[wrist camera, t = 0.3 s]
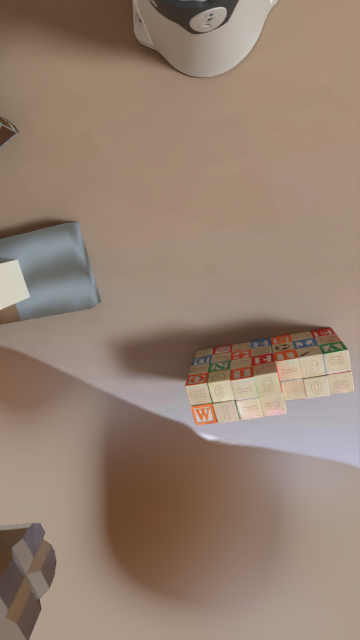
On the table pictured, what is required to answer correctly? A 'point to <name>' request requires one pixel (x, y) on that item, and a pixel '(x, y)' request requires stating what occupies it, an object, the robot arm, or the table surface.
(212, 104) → the table surface
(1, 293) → the cream block
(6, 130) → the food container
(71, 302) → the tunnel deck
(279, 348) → the stack of blocks
